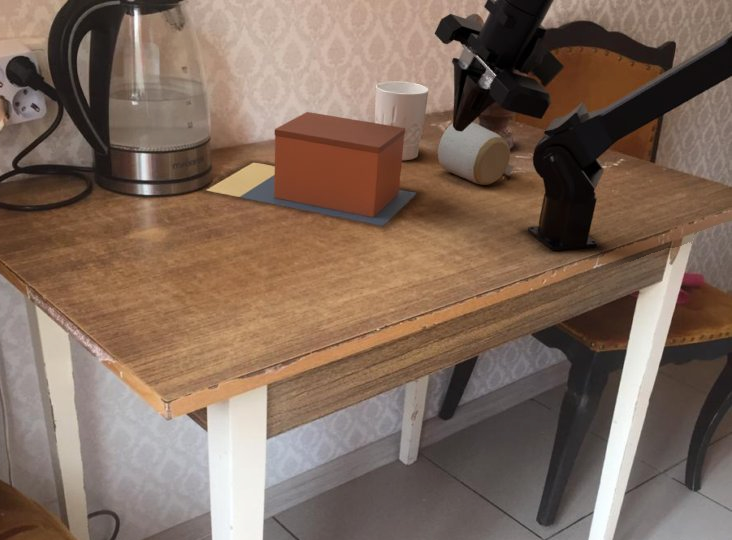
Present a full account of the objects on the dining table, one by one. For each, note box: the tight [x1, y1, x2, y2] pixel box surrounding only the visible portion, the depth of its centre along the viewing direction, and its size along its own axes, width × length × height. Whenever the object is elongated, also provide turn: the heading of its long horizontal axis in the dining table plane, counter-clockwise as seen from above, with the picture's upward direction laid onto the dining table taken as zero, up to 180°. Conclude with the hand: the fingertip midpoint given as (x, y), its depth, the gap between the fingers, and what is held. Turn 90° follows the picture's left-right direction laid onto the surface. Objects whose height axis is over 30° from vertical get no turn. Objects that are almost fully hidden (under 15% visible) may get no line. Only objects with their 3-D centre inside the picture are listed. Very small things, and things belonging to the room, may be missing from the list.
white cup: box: [374, 80, 430, 161], centre depth 131 cm, size 8×8×10 cm
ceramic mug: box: [437, 121, 514, 186], centre depth 124 cm, size 11×8×8 cm
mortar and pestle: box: [465, 13, 528, 150], centre depth 134 cm, size 12×9×20 cm
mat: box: [205, 162, 418, 227], centre depth 117 cm, size 25×14×1 cm, turn 68°
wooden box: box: [274, 111, 405, 217], centre depth 113 cm, size 14×10×9 cm
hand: (457, 129), depth 105 cm, fingers closed
